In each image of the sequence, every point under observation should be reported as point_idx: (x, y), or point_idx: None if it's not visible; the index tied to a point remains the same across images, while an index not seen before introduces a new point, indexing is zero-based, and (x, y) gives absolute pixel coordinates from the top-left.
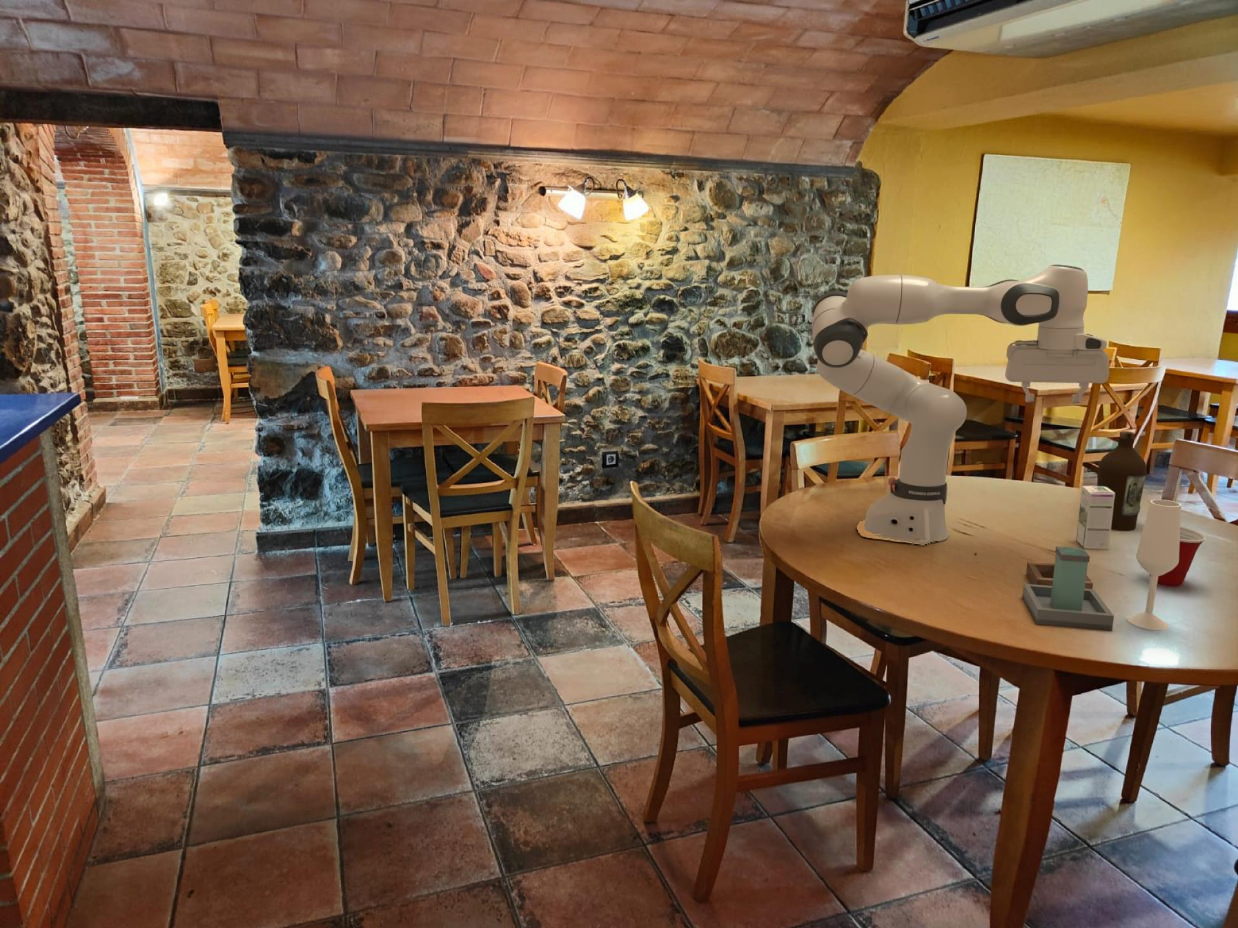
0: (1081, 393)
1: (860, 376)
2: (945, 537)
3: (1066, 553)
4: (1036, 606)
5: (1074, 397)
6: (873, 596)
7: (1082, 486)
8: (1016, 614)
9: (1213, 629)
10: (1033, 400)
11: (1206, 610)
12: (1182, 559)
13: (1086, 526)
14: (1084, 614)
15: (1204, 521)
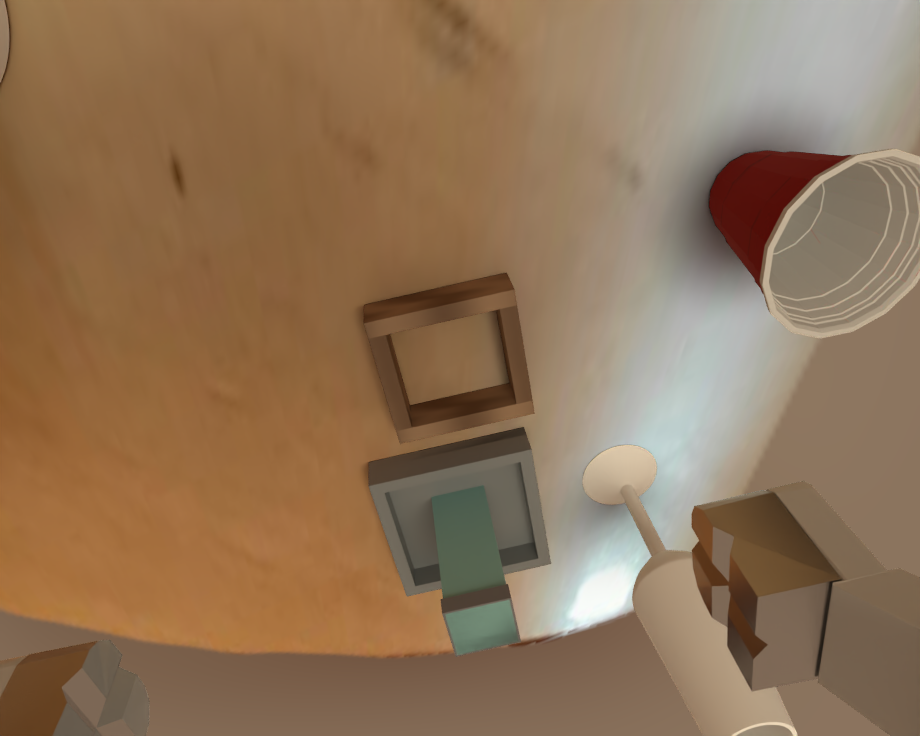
0: (883, 711)
1: None
2: (4, 38)
3: (466, 646)
4: (403, 585)
5: (739, 663)
6: (52, 594)
7: None
8: (365, 548)
9: (738, 454)
10: (138, 731)
11: (768, 359)
12: (809, 279)
13: None
14: None
15: None
